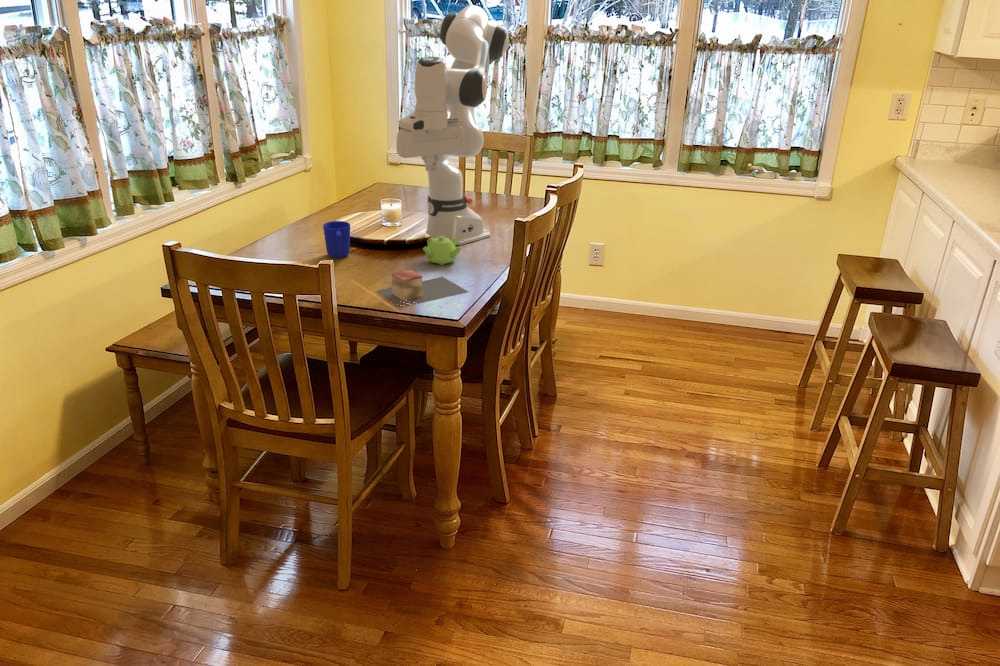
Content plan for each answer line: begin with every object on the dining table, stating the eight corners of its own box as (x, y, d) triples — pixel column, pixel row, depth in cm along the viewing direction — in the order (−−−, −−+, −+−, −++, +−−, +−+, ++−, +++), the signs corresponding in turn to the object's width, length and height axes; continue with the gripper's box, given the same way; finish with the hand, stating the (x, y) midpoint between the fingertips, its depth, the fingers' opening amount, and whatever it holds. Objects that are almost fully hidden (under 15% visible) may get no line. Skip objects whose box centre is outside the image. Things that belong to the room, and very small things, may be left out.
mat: (442, 278, 235) (442, 276, 235) (468, 293, 225) (468, 291, 225) (375, 292, 224) (375, 291, 223) (399, 309, 213) (399, 307, 213)
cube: (391, 273, 219) (392, 293, 222) (402, 280, 215) (403, 300, 218) (410, 269, 223) (411, 289, 225) (422, 275, 218) (422, 296, 221)
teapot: (423, 256, 252) (422, 230, 249) (459, 256, 253) (459, 230, 250) (423, 268, 242) (422, 242, 239) (461, 268, 243) (461, 242, 240)
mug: (327, 264, 243) (325, 233, 239) (324, 252, 254) (322, 221, 249) (354, 263, 245) (352, 231, 241) (350, 250, 256) (348, 220, 251)
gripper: (457, 115, 227) (456, 164, 233) (393, 121, 216) (394, 172, 222) (469, 119, 222) (468, 168, 228) (404, 124, 211) (405, 176, 217)
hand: (431, 170), depth 225 cm, fingers closed
